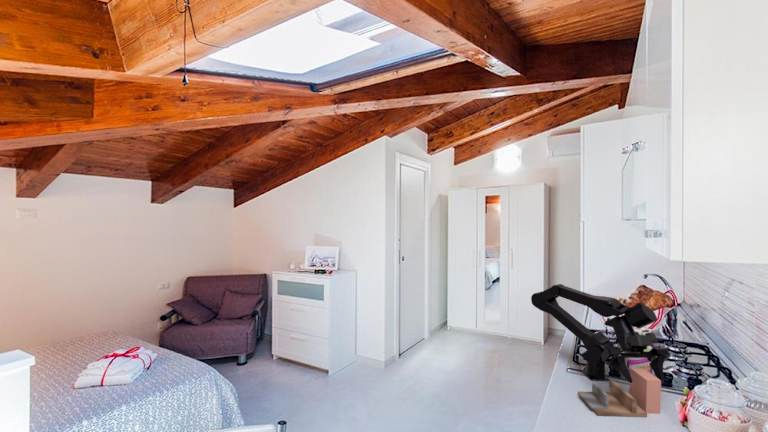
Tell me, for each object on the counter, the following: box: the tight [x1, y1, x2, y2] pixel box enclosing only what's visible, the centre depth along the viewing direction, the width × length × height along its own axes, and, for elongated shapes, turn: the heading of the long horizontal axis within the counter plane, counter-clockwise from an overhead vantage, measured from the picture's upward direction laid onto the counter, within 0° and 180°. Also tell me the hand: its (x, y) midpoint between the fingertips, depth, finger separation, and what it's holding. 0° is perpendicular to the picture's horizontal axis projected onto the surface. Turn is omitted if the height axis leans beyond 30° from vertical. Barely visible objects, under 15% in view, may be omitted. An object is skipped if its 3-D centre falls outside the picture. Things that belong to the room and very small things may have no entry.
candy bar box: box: [616, 326, 653, 375], centre depth 134 cm, size 11×5×16 cm, turn 105°
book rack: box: [577, 379, 648, 418], centre depth 114 cm, size 12×15×5 cm
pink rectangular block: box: [629, 368, 662, 415], centre depth 113 cm, size 8×4×10 cm, turn 177°
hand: (646, 382), depth 113 cm, fingers open, 9 cm apart
